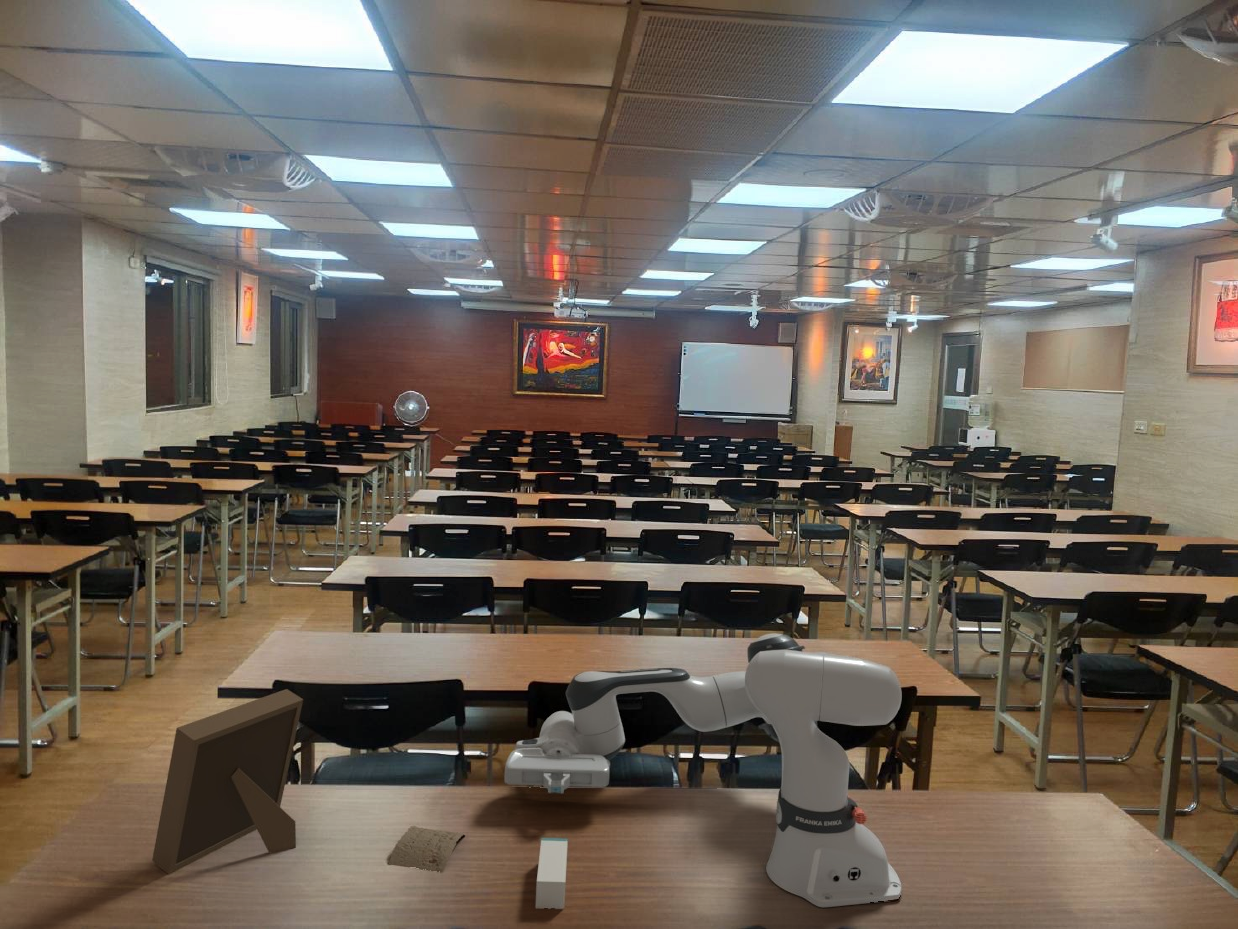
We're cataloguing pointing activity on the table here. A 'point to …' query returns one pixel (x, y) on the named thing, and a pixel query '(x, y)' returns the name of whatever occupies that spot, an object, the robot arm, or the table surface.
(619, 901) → the table surface
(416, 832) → the clay tablet
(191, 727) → the photo frame
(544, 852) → the block
